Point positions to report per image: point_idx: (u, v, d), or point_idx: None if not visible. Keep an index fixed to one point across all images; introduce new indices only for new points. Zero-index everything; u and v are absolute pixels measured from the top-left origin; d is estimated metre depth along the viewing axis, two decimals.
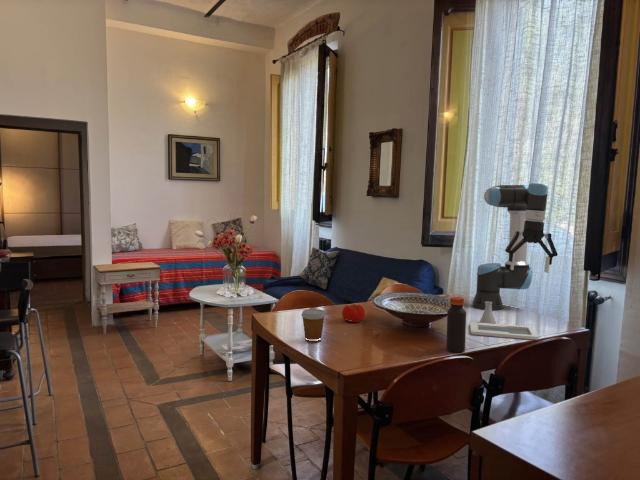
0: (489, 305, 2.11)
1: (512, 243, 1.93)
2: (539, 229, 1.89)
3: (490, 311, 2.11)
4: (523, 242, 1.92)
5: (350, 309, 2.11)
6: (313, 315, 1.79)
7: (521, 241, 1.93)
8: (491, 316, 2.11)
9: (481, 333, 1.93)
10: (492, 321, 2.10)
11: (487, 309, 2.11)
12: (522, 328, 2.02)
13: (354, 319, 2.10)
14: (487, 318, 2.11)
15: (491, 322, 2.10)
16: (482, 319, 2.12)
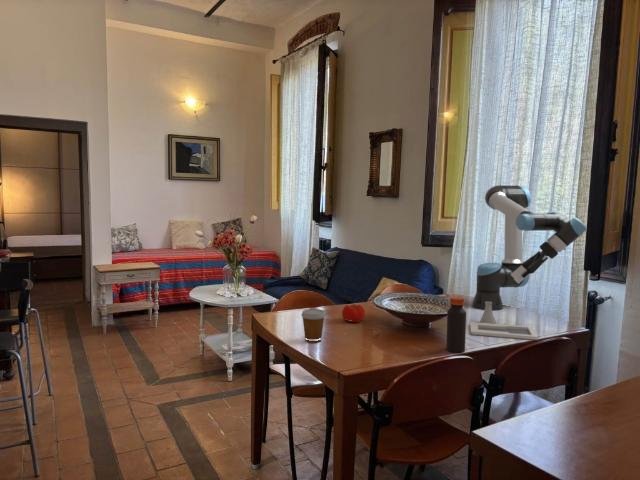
0: (489, 305, 2.11)
1: (539, 266, 1.98)
2: None
3: (490, 311, 2.11)
4: None
5: (350, 309, 2.11)
6: (313, 315, 1.79)
7: None
8: (491, 316, 2.11)
9: (481, 333, 1.93)
10: (492, 321, 2.10)
11: (487, 309, 2.11)
12: (522, 328, 2.02)
13: (354, 319, 2.10)
14: (487, 318, 2.11)
15: (491, 322, 2.10)
16: (482, 319, 2.12)
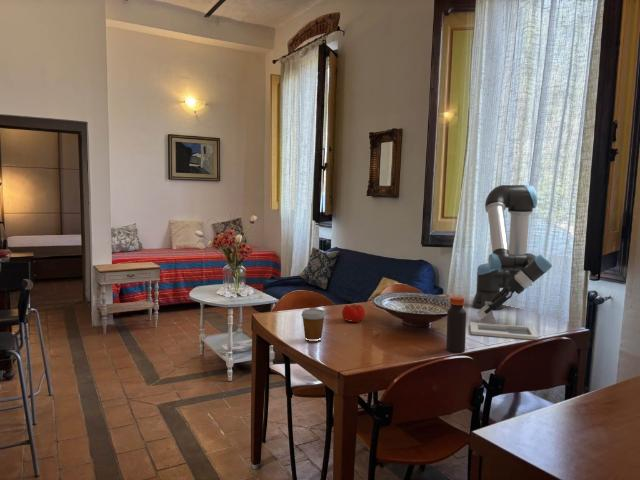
0: None
1: (501, 304, 2.06)
2: None
3: None
4: None
5: (350, 309, 2.11)
6: (313, 315, 1.79)
7: None
8: (491, 316, 2.11)
9: (481, 333, 1.93)
10: (492, 321, 2.10)
11: None
12: (522, 328, 2.02)
13: (354, 319, 2.10)
14: (487, 318, 2.11)
15: (491, 322, 2.10)
16: (482, 319, 2.12)
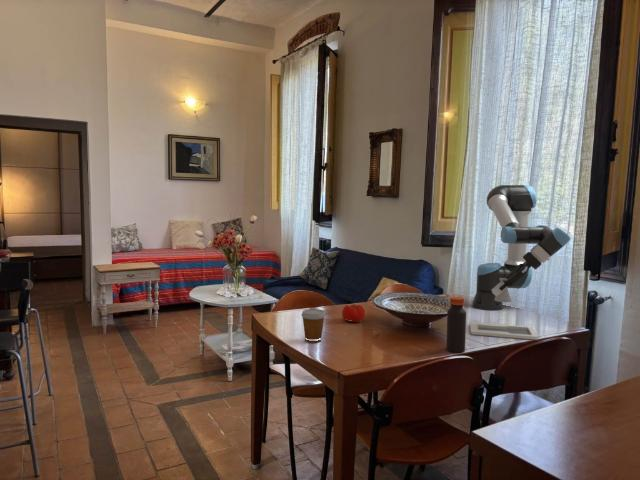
0: None
1: (517, 279, 1.96)
2: None
3: None
4: None
5: (350, 309, 2.11)
6: (313, 315, 1.79)
7: None
8: (506, 293, 2.01)
9: (481, 333, 1.93)
10: (507, 298, 2.00)
11: None
12: (522, 328, 2.02)
13: (354, 319, 2.10)
14: (502, 295, 2.01)
15: (506, 299, 2.00)
16: (497, 296, 2.02)
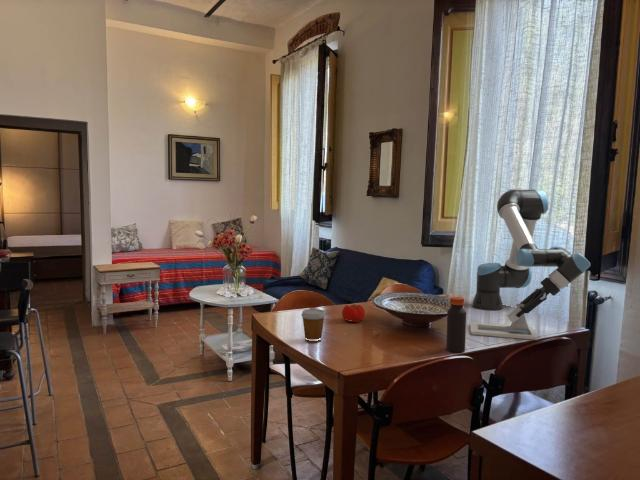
0: None
1: (535, 306, 1.89)
2: None
3: None
4: None
5: (350, 309, 2.11)
6: (313, 315, 1.79)
7: None
8: (523, 320, 1.94)
9: (481, 333, 1.93)
10: (524, 325, 1.93)
11: None
12: None
13: (354, 319, 2.10)
14: (519, 322, 1.94)
15: (523, 326, 1.93)
16: (513, 323, 1.95)
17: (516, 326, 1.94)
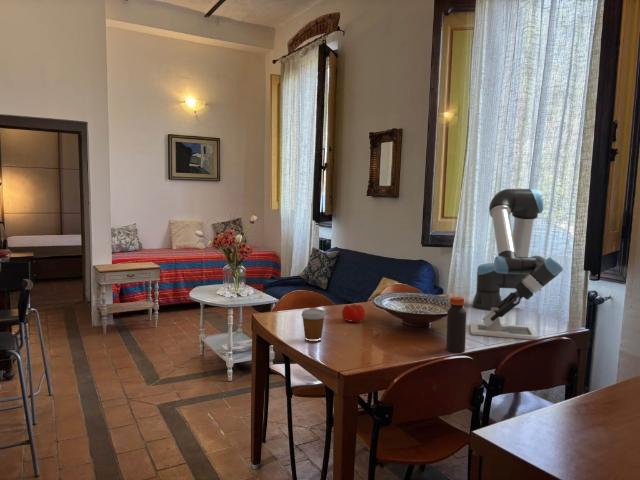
0: None
1: (509, 310, 1.92)
2: None
3: None
4: None
5: (350, 309, 2.11)
6: (313, 315, 1.79)
7: None
8: (498, 323, 1.97)
9: (481, 333, 1.93)
10: (499, 329, 1.96)
11: None
12: (522, 328, 2.02)
13: (354, 319, 2.10)
14: (494, 325, 1.96)
15: (498, 330, 1.96)
16: (488, 326, 1.98)
17: (491, 330, 1.97)
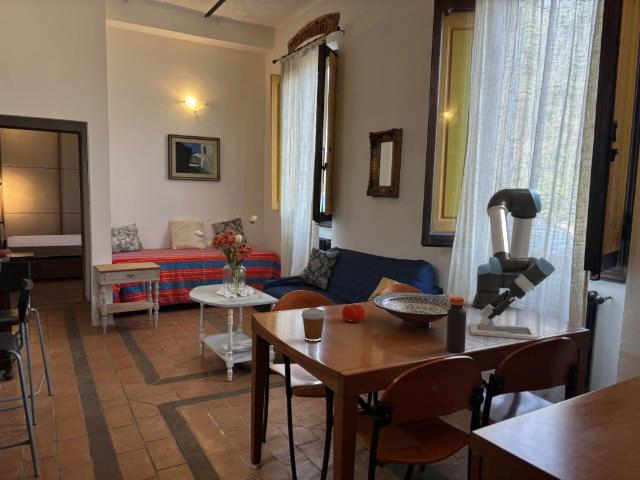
0: (488, 311, 1.98)
1: (505, 308, 1.90)
2: None
3: None
4: None
5: (350, 309, 2.11)
6: (313, 315, 1.79)
7: None
8: (490, 323, 1.98)
9: (481, 333, 1.93)
10: (491, 328, 1.97)
11: None
12: (522, 328, 2.02)
13: (354, 319, 2.10)
14: (486, 325, 1.98)
15: (490, 329, 1.97)
16: (481, 326, 1.99)
17: (483, 329, 1.98)
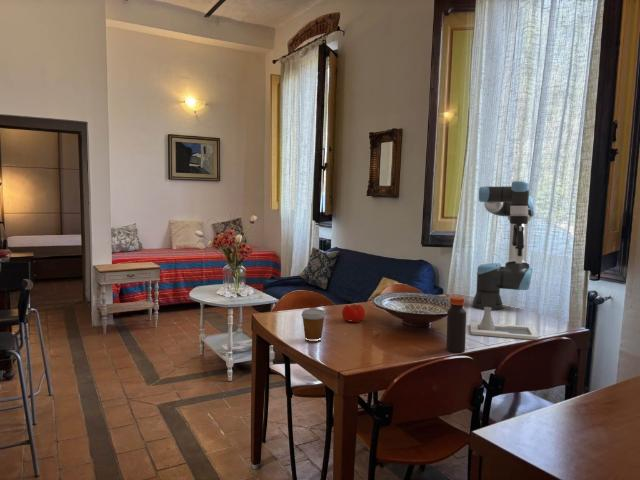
0: (488, 311, 1.98)
1: None
2: None
3: (489, 317, 1.98)
4: None
5: (350, 309, 2.11)
6: (313, 315, 1.79)
7: None
8: (490, 323, 1.98)
9: (481, 333, 1.93)
10: (491, 328, 1.97)
11: (486, 315, 1.98)
12: (522, 328, 2.02)
13: (354, 319, 2.10)
14: (486, 325, 1.98)
15: (490, 329, 1.97)
16: (481, 326, 1.99)
17: (483, 329, 1.98)
